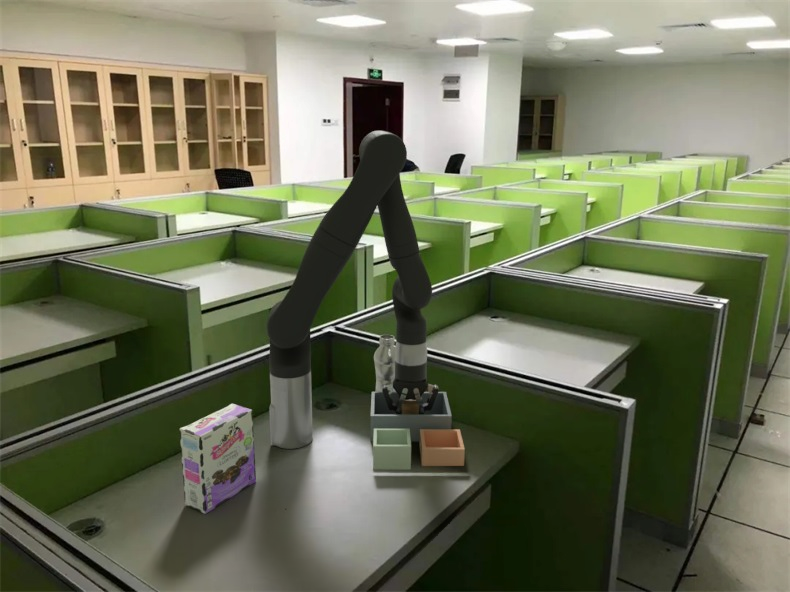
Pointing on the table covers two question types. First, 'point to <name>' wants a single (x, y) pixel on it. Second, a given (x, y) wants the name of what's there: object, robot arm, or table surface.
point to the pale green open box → (391, 449)
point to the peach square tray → (441, 447)
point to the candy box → (217, 457)
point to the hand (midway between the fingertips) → (409, 424)
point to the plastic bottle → (385, 362)
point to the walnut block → (410, 407)
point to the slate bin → (390, 420)
